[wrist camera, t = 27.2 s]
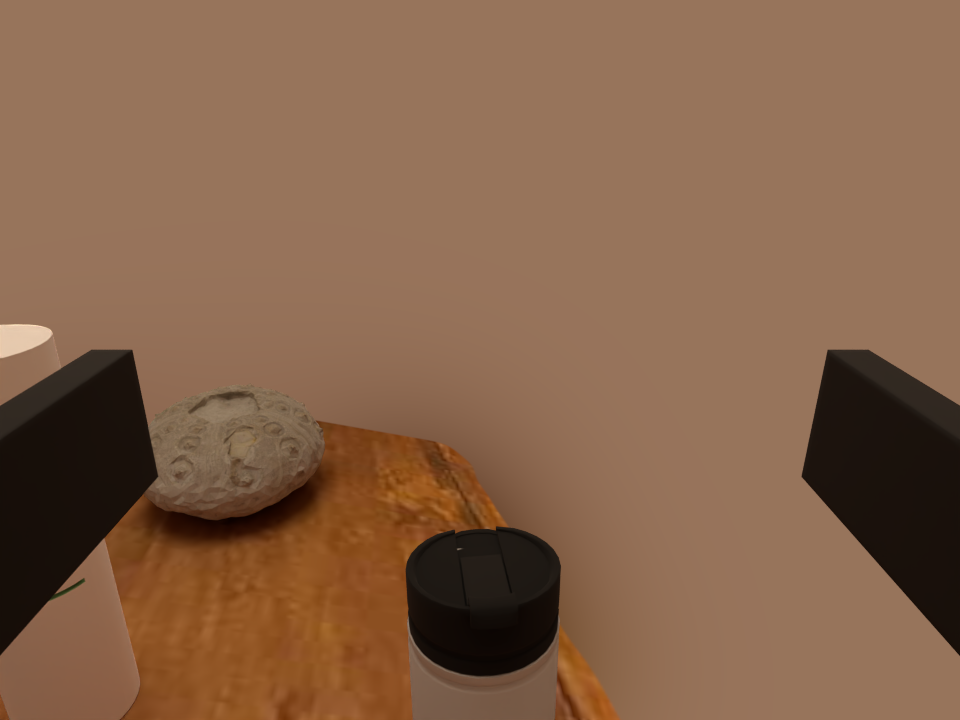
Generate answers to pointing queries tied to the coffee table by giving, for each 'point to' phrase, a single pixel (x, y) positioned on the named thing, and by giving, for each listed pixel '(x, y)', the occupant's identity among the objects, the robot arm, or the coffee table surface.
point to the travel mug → (483, 626)
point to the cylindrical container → (65, 600)
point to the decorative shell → (232, 452)
